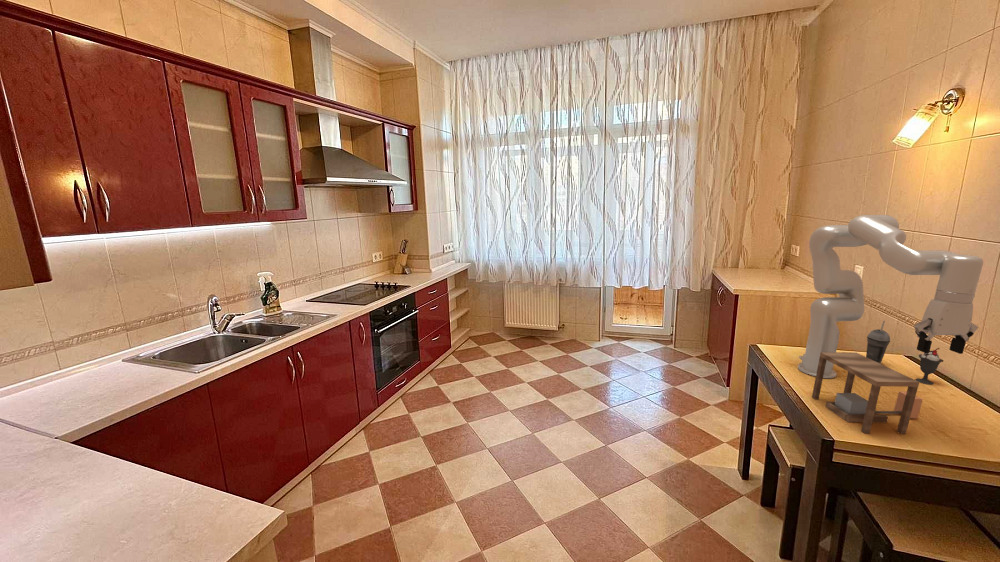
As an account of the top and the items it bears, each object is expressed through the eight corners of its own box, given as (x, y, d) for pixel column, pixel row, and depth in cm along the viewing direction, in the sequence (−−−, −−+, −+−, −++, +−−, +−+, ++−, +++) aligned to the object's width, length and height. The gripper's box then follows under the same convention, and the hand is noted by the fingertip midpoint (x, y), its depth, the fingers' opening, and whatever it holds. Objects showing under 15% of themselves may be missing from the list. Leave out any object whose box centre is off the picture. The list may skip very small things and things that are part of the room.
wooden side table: (811, 397, 145) (820, 352, 141) (846, 397, 145) (856, 352, 141) (864, 433, 123) (876, 381, 120) (905, 434, 123) (919, 382, 119)
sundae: (933, 387, 152) (943, 350, 149) (909, 380, 158) (918, 344, 155) (940, 383, 155) (949, 347, 152) (916, 376, 161) (925, 341, 158)
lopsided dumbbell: (833, 408, 137) (837, 390, 135) (901, 409, 137) (906, 390, 135) (848, 418, 131) (852, 399, 130) (919, 419, 131) (924, 399, 129)
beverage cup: (880, 362, 174) (890, 318, 170) (887, 369, 168) (898, 323, 163) (858, 359, 177) (868, 316, 173) (865, 365, 171) (875, 321, 166)
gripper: (969, 294, 120) (955, 347, 124) (910, 293, 121) (898, 346, 125) (999, 300, 113) (982, 357, 117) (936, 300, 114) (922, 356, 117)
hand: (939, 351), depth 121 cm, fingers open, 9 cm apart
